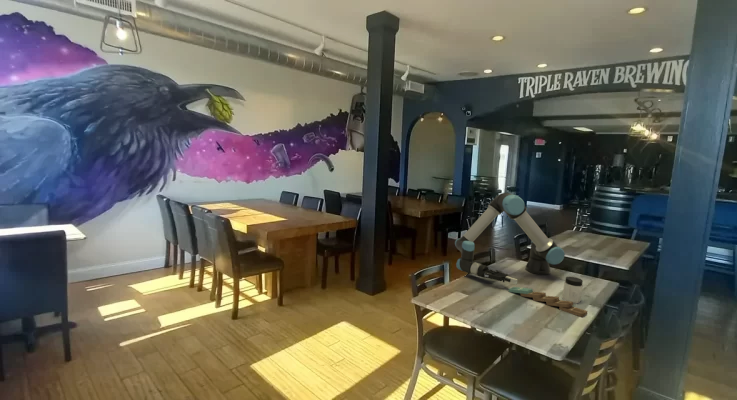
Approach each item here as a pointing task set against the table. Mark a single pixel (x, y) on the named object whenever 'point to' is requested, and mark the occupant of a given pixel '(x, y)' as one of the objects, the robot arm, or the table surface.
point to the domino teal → (520, 290)
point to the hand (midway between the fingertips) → (516, 282)
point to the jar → (572, 289)
